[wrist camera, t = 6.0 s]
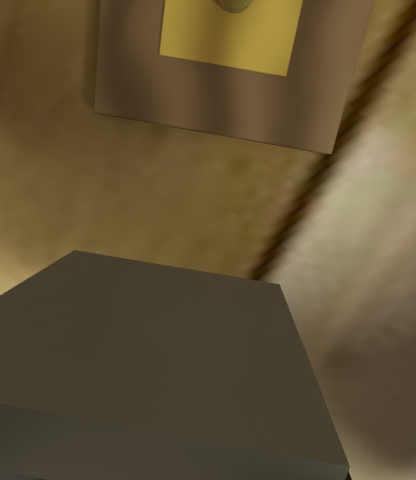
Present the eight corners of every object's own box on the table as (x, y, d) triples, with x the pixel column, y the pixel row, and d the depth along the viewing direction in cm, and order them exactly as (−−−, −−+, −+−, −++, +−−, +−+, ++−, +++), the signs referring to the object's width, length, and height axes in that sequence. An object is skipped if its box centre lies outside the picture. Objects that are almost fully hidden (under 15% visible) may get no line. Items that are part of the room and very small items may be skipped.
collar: (279, 284, 11) (350, 466, 5) (241, 444, 14) (253, 724, 7) (74, 250, 12) (-138, 379, 5) (69, 413, 14) (-81, 655, 7)
